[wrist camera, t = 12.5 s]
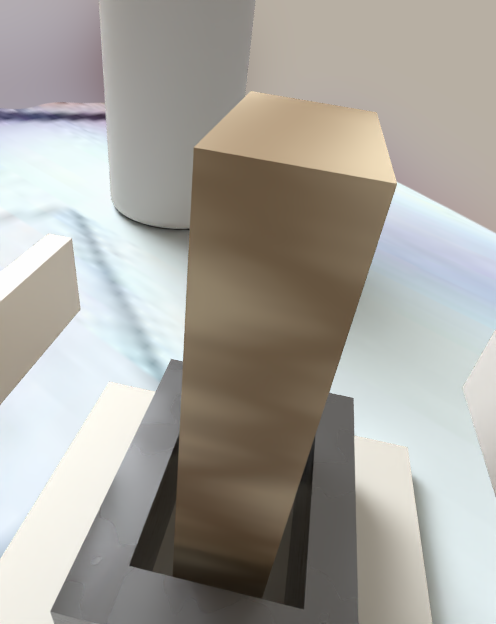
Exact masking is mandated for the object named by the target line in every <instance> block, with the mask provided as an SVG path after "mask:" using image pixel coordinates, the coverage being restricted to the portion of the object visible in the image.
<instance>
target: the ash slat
mask: <svg viewBox="0 0 496 624" xmlns="http://www.w3.org/2000/svg"><path fill="white" fill-rule="evenodd" d="M396 185H397V182H396V178H395V175H394V171H393V168H392V165H391V161H390V157H389V154H388V150H387V147H386V143H385V140H384V136H383V133H382V129H381V126H380V123H379V119H378V115H377V113H376V112H371V111H365V110H360V109H353V108H348V107H341V106H336V105H330V104H324V103H318V102H312V101H306V100H300V99H294V98H288V97H282V96H276V95H270V94H264V93H258V92H253V91H250V92H249V93H248V94H247V95H246V96H245V97H244V98H243V99H242V100H241V101H240V102H239V103H238V104H237V105H236V106H235V107H234V108H233V109H232V110H231V111H230V112H229V113H228V114H227V115H226V116H225V117H224V118H223V119H222V120H221V121H220V122H219V123H218V124H217V125H216V126H215V127H214V128H213V129H212V130H211V131H210V132H209V133H208V134H207V135H206V136H205V137H204V138H203V139H202V140H201V141H200V142H199V143H198V144H197V145H196V146H195V147H194V152H193V172H192V192H191V212H190V232H189V253H188V273H187V293H186V313H185V333H184V353H183V373H182V394H181V414H180V434H179V454H178V474H177V494H176V514H175V534H174V555H173V575H172V577H175V578H179V579H183V580H187V581H191V582H195V583H199V584H203V585H207V586H211V587H215V588H219V589H223V590H227V591H231V592H235V593H239V594H243V595H247V596H251V597H255V598H259V599H262V597H263V594H264V591H265V588H266V585H267V582H268V579H269V575H270V572H271V569H272V566H273V563H274V560H275V557H276V554H277V551H278V548H279V545H280V542H281V539H282V536H283V532H284V529H285V526H286V523H287V520H288V517H289V514H290V511H291V508H292V505H293V502H294V499H295V496H296V493H297V489H298V486H299V483H300V480H301V477H302V474H303V471H304V468H305V465H306V462H307V459H308V456H309V453H310V450H311V446H312V443H313V440H314V437H315V434H316V431H317V428H318V425H319V422H320V419H321V416H322V413H323V410H324V407H325V403H326V400H327V397H328V394H329V391H330V388H331V385H332V382H333V379H334V376H335V373H336V370H337V367H338V364H339V360H340V357H341V354H342V351H343V348H344V345H345V342H346V339H347V336H348V333H349V330H350V327H351V324H352V321H353V317H354V314H355V311H356V308H357V305H358V302H359V299H360V296H361V293H362V290H363V287H364V284H365V281H366V278H367V274H368V271H369V268H370V265H371V262H372V259H373V256H374V253H375V250H376V247H377V244H378V241H379V238H380V235H381V231H382V228H383V225H384V222H385V219H386V216H387V213H388V210H389V207H390V204H391V201H392V198H393V195H394V192H395V188H396Z"/></svg>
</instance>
